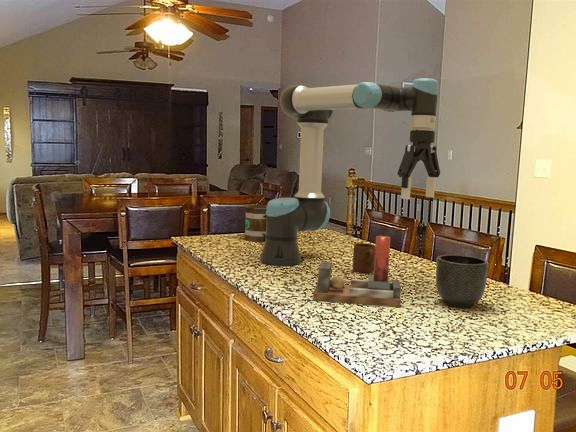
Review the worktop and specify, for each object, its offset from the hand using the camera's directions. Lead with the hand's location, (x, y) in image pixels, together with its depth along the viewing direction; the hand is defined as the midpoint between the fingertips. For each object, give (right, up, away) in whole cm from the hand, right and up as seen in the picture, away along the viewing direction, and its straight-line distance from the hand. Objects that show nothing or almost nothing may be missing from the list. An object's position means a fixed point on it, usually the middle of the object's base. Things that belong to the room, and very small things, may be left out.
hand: (417, 198), depth 170 cm
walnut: (-27, -27, -14) cm, 41 cm away
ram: (-15, -27, -16) cm, 35 cm away
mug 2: (-14, -26, +17) cm, 34 cm away
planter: (+8, -31, -16) cm, 36 cm away
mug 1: (-53, -17, +73) cm, 92 cm away
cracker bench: (-21, -29, -15) cm, 39 cm away
